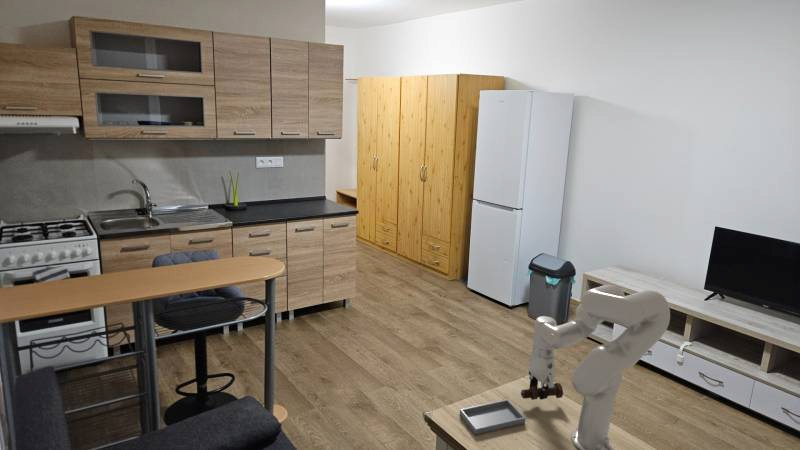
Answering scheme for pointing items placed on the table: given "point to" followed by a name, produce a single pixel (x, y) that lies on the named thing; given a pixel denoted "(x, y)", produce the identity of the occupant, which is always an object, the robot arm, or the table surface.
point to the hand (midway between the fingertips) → (538, 393)
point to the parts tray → (492, 417)
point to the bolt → (535, 392)
